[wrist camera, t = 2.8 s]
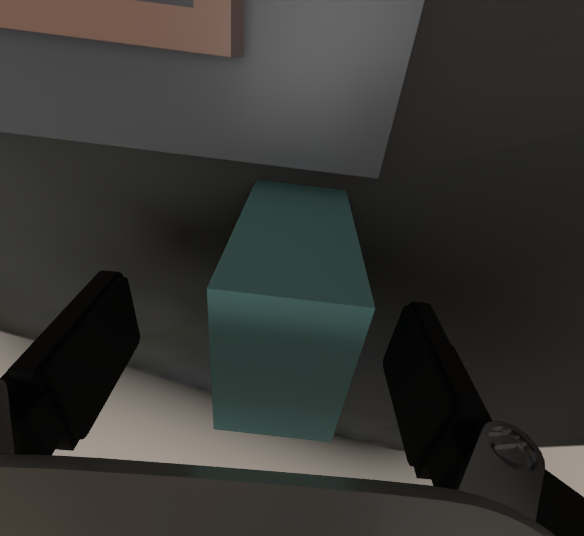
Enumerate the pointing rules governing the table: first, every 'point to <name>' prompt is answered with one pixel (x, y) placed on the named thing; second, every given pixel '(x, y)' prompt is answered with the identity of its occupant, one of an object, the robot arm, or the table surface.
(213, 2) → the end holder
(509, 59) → the table surface
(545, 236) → the table surface
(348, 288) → the block
